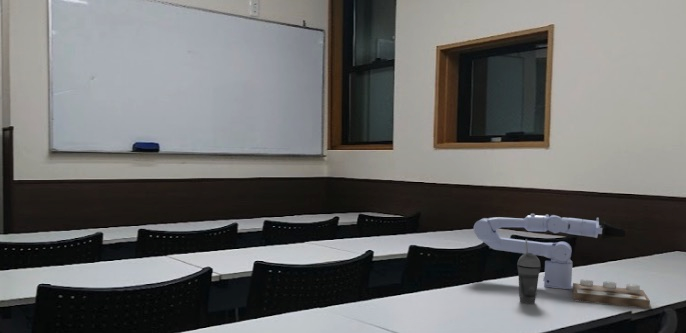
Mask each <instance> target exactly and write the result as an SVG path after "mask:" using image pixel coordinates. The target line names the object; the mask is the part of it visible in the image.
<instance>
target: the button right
mask: <svg viewBox="0 0 686 333" xmlns="http://www.w3.org/2000/svg"><path fill="white" fill-rule="evenodd" d="M625 286H626V287H625V288H626V290H628V291H635V292H638V291H640V290H641V285H639V284H634V283H626V284H625Z"/></svg>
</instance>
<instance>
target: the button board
mask: <svg viewBox="0 0 686 333" xmlns="http://www.w3.org/2000/svg"><path fill="white" fill-rule="evenodd" d="M572 286H573V289H572V293H573V294H572V295H573V301H578V302H585V303H595V304H602V305H610V306H611V305H614V306H620V307H621V306H623V307H631V308H640V309H649V310H650V309H651V308H650V306H651V304H650V303H651V301H650V299H649V297H648V296H647V294H646V292H645V291H644V289H640V291H638V292H635V291H628V290H626V287H617V286H616V289H607V288H603V285H595V284H593V287H585V286H581V285H580V283H578V282H576V283H574V282H572Z"/></svg>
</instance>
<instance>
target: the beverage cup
mask: <svg viewBox="0 0 686 333" xmlns="http://www.w3.org/2000/svg"><path fill="white" fill-rule="evenodd" d="M525 241H526V253H525V254H524V253H522V255H521V256H519V259H518V260H517V263H516V266H517V273H518V274H517V276H518V294H519V302H520V303H522V304H524V305H525V304H526V305H535V303H536V299H537V290H538V283H539V277H540V276H539V275H540V272H541V268H542V266H541V261H540V259H539V258H538V255H534V254H532V253H528V245H527V241H528V238H525Z"/></svg>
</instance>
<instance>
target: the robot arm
mask: <svg viewBox="0 0 686 333" xmlns="http://www.w3.org/2000/svg"><path fill="white" fill-rule="evenodd" d="M599 220H600V218H599V217H596V220H590V219H584V218H583V219H582V218H575V217H561V216H558V215H555V214H551V215H549V214H545V215H536V214H535V213H530V215H527V216H525V217H524V218H515V217H500V216H498V217H496V216H495V217H488V218H487V217H483V218H481V219H479V220H477V221H476V222H475V223H474V225H473V232H474V234H475V236H476V238H477V240H480V241H482V242H483V243H484V244H486V246H488V247H490V249H492V250H494V251H495V250H496V251H504V252H511V253H517V254H525V253H526V241H525V240H524V239H517V238H516V239H515V238H510V237H509V238H508V237H501V236H500V235H501V234H499V233H498V231H497V230H499V229H501V228H524V229H525V230H526V231H528V232H547V231H549V232H551V233H553V234H559V233H564V234H568V235H576V236H584V237H589V238H590V237H591V238H596V239H597V238H598V235H601V240H605V239H609V238H622V237H623V238H624V237H625V236H626V230H625V228H623V227H621V226H615V225H612V224H610V223H607V222H605V220H604V221H603V220H602V221H601V225H600V221H599ZM527 245H528V253H532V254H534V255H536V256H541V257H545V258H548V259H550V260H545V261H544V276H543V278H542V279H543V280H542V281H543V284H544V285H543V286H544V287H545V288H556V289H564V290H573V282H572V278H573V261H572V260H571V257H572V252H573V251H572V250H573V249H572V246H571V245H570V243H568V242H566V241H564V240H563V241H558V242H542V241H541V242H540V241H533V240H527Z"/></svg>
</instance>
